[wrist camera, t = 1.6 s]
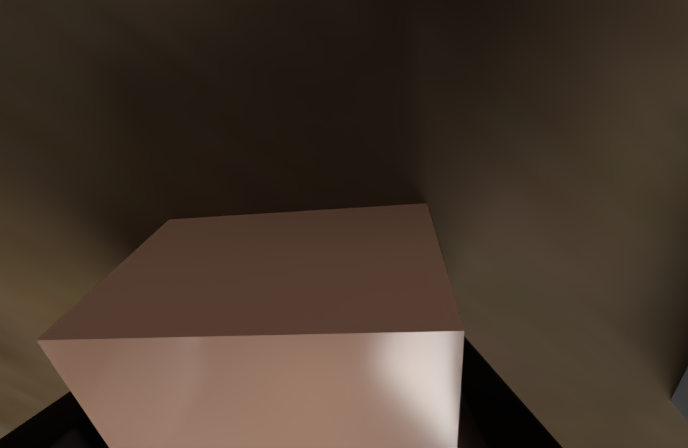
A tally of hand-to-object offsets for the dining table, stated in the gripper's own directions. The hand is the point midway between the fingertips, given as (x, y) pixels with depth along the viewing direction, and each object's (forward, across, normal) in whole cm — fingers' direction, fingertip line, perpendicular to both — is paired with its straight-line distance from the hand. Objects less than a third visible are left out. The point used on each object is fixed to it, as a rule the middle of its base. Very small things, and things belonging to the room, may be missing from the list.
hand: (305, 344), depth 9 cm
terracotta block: (+1, 0, 0) cm, 1 cm away
